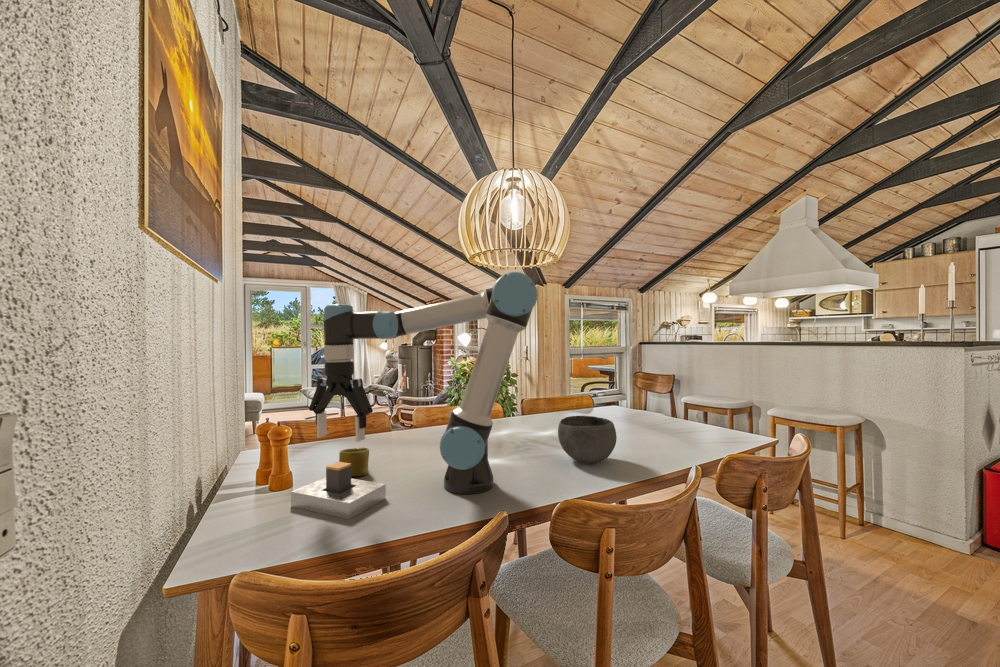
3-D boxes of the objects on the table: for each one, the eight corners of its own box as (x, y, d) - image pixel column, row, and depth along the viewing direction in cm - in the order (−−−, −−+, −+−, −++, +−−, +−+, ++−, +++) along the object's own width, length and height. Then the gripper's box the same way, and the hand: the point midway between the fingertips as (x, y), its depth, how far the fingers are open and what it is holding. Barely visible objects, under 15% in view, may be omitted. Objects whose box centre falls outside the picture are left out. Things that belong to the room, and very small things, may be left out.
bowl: (580, 450, 161) (580, 412, 162) (628, 462, 146) (628, 420, 146) (545, 461, 147) (545, 419, 147) (594, 475, 132) (594, 429, 132)
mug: (362, 475, 127) (357, 443, 129) (334, 483, 129) (329, 452, 131) (383, 470, 138) (377, 441, 141) (357, 478, 140) (352, 449, 143)
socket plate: (385, 498, 114) (385, 482, 114) (349, 519, 101) (349, 500, 101) (331, 488, 121) (331, 472, 121) (290, 506, 108) (290, 489, 108)
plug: (351, 499, 112) (351, 463, 112) (338, 505, 108) (338, 468, 108) (338, 497, 114) (338, 461, 114) (326, 503, 110) (326, 466, 110)
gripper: (385, 360, 110) (386, 438, 110) (316, 359, 119) (317, 431, 119) (366, 362, 103) (367, 445, 103) (294, 361, 113) (295, 438, 112)
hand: (340, 438), depth 111 cm, fingers open, 13 cm apart
